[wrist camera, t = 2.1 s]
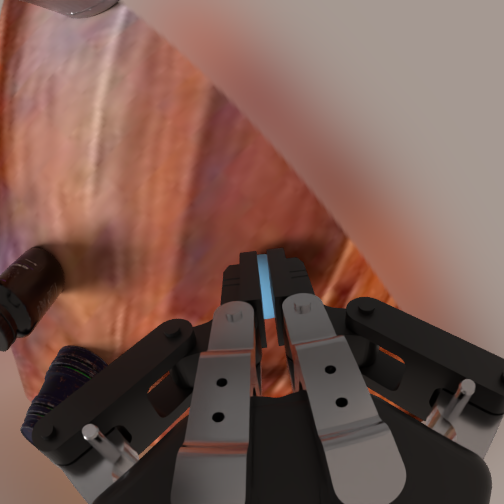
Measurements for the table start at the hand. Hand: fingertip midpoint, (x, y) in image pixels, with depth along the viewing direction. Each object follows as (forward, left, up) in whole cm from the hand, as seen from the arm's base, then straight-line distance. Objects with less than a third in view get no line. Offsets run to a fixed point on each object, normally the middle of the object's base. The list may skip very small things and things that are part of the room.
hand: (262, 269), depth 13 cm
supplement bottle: (+6, -26, -15) cm, 31 cm away
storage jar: (+23, -28, -15) cm, 39 cm away
